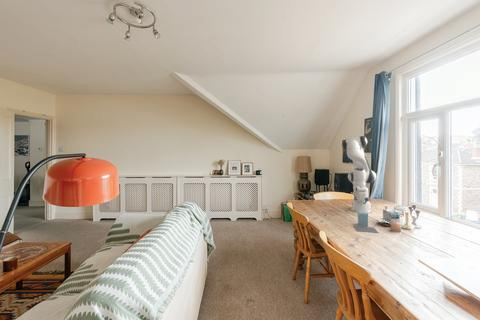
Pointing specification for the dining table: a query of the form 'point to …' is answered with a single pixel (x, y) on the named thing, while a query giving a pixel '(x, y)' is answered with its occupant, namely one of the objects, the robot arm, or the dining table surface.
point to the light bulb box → (391, 215)
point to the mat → (365, 229)
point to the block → (363, 219)
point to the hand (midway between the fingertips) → (359, 204)
